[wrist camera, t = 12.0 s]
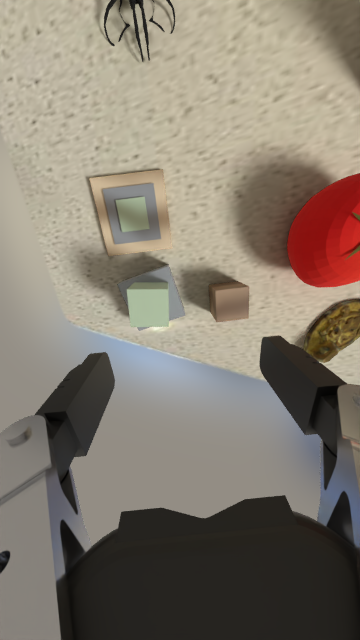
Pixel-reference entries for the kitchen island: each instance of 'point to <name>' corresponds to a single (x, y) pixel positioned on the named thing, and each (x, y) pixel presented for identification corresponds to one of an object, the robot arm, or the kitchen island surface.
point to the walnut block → (229, 301)
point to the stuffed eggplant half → (334, 331)
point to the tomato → (328, 236)
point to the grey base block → (157, 276)
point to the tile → (133, 212)
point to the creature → (135, 21)
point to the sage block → (148, 304)
